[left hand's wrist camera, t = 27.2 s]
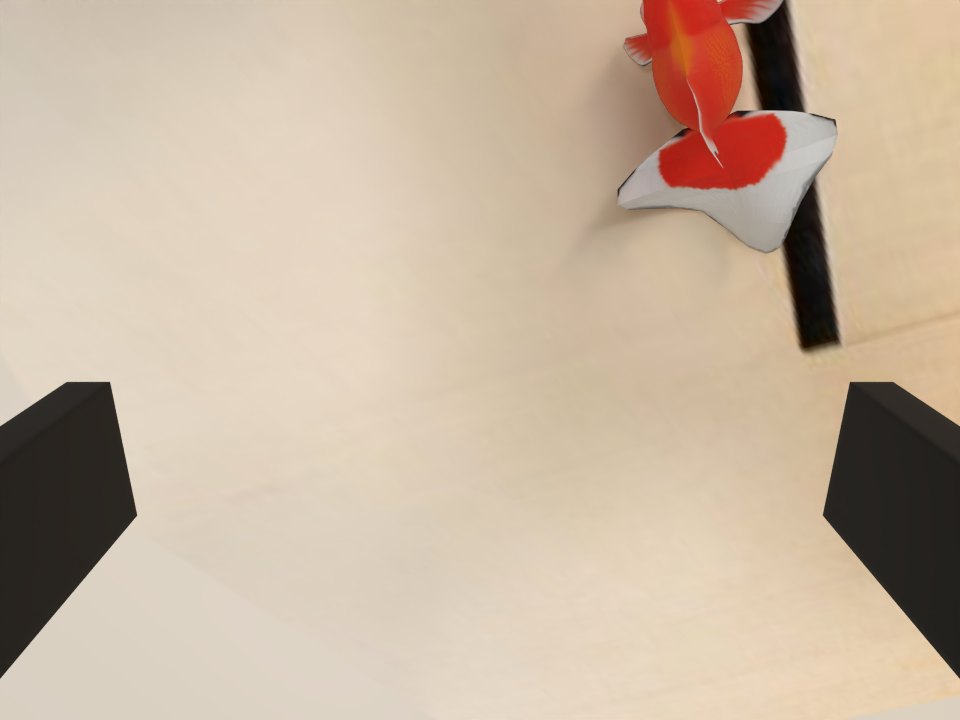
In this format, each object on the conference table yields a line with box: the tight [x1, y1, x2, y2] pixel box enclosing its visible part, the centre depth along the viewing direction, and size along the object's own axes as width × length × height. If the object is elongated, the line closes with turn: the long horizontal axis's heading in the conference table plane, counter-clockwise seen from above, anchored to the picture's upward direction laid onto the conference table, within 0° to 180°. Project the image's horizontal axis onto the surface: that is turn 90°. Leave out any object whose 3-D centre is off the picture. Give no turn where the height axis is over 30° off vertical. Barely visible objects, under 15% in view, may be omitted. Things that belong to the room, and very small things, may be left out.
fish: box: [618, 0, 838, 253], centre depth 35 cm, size 11×16×10 cm
